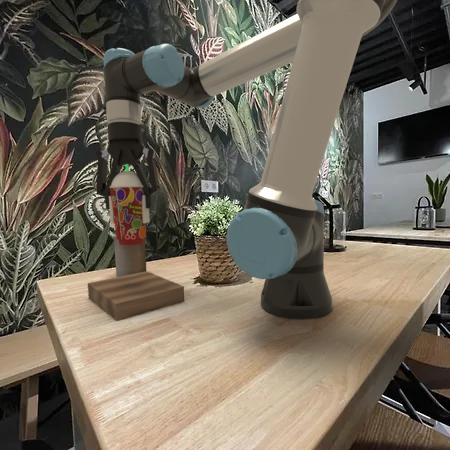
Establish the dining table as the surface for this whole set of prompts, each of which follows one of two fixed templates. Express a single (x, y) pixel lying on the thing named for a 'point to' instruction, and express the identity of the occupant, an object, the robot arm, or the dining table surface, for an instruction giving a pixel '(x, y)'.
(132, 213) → the smoothie
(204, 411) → the dining table surface
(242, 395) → the dining table surface
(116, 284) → the walnut shelf board
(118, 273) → the pillar candle
